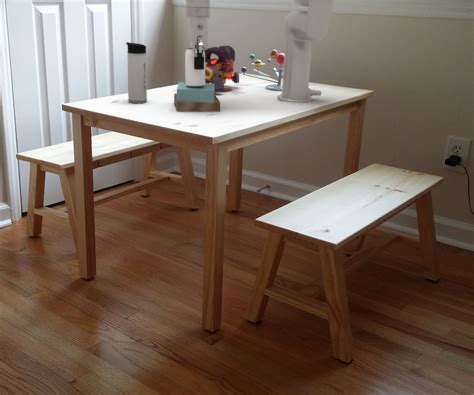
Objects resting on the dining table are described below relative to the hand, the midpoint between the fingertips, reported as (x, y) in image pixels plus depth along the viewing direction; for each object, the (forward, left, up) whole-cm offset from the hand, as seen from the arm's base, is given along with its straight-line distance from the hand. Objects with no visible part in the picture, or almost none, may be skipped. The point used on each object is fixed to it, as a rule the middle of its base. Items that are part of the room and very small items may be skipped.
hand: (197, 66), depth 206 cm
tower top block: (0, 0, -10) cm, 10 cm away
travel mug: (+19, -10, -14) cm, 26 cm away
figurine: (-12, -31, -14) cm, 36 cm away
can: (+1, +1, -6) cm, 6 cm away
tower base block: (0, 0, -14) cm, 14 cm away
